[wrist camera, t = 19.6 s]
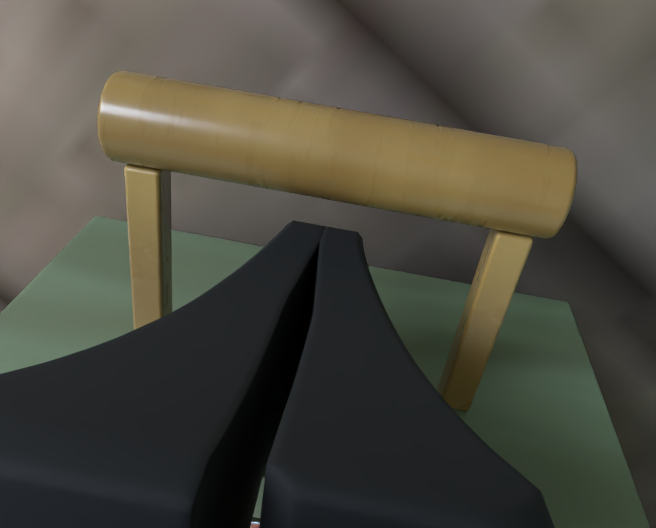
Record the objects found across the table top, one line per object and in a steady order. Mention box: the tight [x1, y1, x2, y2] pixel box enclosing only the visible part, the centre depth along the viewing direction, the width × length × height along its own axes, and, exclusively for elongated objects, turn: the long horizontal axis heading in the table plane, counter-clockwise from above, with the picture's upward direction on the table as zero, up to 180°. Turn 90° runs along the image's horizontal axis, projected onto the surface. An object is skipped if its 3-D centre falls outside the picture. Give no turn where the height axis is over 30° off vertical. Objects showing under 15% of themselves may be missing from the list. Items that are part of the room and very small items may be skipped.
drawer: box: [0, 70, 650, 528], centre depth 14 cm, size 18×12×7 cm
